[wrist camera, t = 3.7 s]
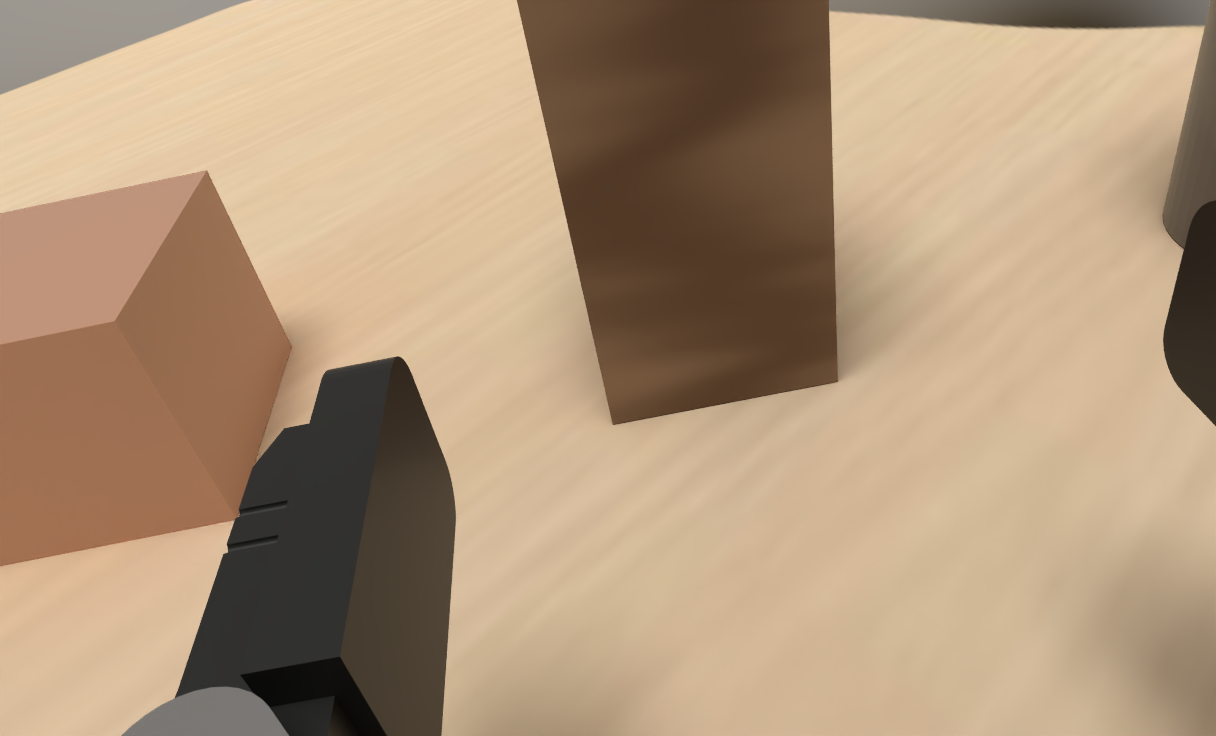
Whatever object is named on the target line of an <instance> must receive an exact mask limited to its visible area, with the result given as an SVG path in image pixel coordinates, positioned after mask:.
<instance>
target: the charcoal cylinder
mask: <svg viewBox="0 0 1216 736" xmlns="http://www.w3.org/2000/svg"><path fill="white" fill-rule="evenodd" d="M1215 200H1216V0H1211V2H1210V6H1209V11H1208V15H1207V19H1206V24H1205V28H1204V33H1203V37H1202V42H1201V46H1200V51H1199V55H1198V59H1197V64H1196V68H1195V73H1194V77H1193V82H1192V86H1191V91H1190V95H1189V99H1188V104H1187V108H1186V113H1185V117H1184V122H1183V126H1182V131H1181V135H1180V139H1179V144H1178V148H1177V153H1176V157H1175V162H1174V166H1173V171H1172V175H1171V179H1170V184H1169V188H1168V193H1167V197H1166V202H1165V206H1164V211H1163V222H1164V225H1165V227H1166V230H1167V231H1168V233H1169V234H1170V235H1171V237H1172V238H1173V239H1174V240H1175V241H1176V242H1177V243H1178V244H1179V245H1180V246H1182V247H1183V248H1184V247H1185V243H1186V239H1187V235H1188V231H1189V227H1190V224H1191V221H1192V219H1193V217H1194V215H1195V213H1196V212H1197V211H1198V209H1199V208H1200V207H1202V206H1203V205H1204V204H1206V203H1208V202H1210V201H1215Z"/></svg>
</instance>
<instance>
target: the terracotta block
mask: <svg viewBox="0 0 1216 736" xmlns="http://www.w3.org/2000/svg"><path fill="white" fill-rule="evenodd" d="M291 347H292V346H291V344H290V342H289V340H288V338H287V336H286V334H285V332H284V330H283V328H282V326H281V323H280V321H279V319H278V317H277V315H276V313H275V311H274V309H273V307H272V305H271V303H270V301H269V299H268V296H267V294H266V292H265V290H264V288H263V286H262V284H261V282H260V280H259V278H258V276H257V274H256V272H255V269H254V267H253V265H252V263H251V261H250V259H249V257H248V255H247V253H246V251H245V249H244V247H243V245H242V242H241V240H240V238H239V236H238V234H237V232H236V230H235V228H234V226H233V224H232V222H231V220H230V217H229V215H228V213H227V211H226V209H225V207H224V205H223V203H222V201H221V199H220V197H219V195H218V193H217V190H216V188H215V186H214V184H213V182H212V180H211V178H210V176H209V174H208V172H207V171H202V172H197V173H192V174H187V175H183V176H178V177H173V178H168V179H163V180H159V181H154V182H149V183H144V184H139V185H135V186H130V187H125V188H120V189H115V190H110V191H106V192H101V193H96V194H91V195H86V196H82V197H77V198H72V199H67V200H62V201H58V202H53V203H48V204H43V205H38V206H34V207H29V208H24V209H19V210H14V211H9V212H5V213H0V566H4V565H9V564H14V563H19V562H24V561H29V560H34V559H39V558H44V557H49V556H55V555H60V554H65V553H70V552H75V551H80V550H85V549H90V548H95V547H100V546H105V545H110V544H115V543H120V542H126V541H131V540H136V539H141V538H146V537H151V536H156V535H161V534H166V533H171V532H176V531H181V530H186V529H192V528H197V527H202V526H207V525H212V524H217V523H222V522H227V521H232V520H235V518H238V515H239V510H238V509H239V506H240V503H241V500H242V497H243V494H244V491H245V488H246V485H247V482H248V479H249V476H250V473H251V470H252V468H253V466H254V464H255V461H256V458H257V455H258V451H259V448H260V445H261V442H262V439H263V436H264V432H265V429H266V426H267V423H268V420H269V417H270V414H271V410H272V407H273V404H274V401H275V398H276V395H277V391H278V388H279V385H280V382H281V379H282V376H283V372H284V369H285V366H286V363H287V360H288V357H289V354H290V350H291Z"/></svg>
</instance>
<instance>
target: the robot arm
mask: <svg viewBox="0 0 1216 736" xmlns="http://www.w3.org/2000/svg"><path fill="white" fill-rule="evenodd" d="M1163 344H1164V353H1165V358H1166V362H1167V365H1168V368H1169V370H1170V373H1171V375H1172V377H1173V379H1174V381H1175V382H1176V384H1177V385H1178V387H1179V388H1180V389H1181V390H1182V391H1183V392H1184V393H1185V395H1186V396H1187V397H1188V398H1189V399H1190V400H1191V401H1192V402H1193V403H1194V404H1195V405H1196V406H1197V407H1198V408H1199V409H1200V410H1201V411H1202V412H1203V413H1204V414H1205V415H1206V416H1207V417H1208V418H1209V420H1210V421H1211V422H1212V423H1213V424H1214V425H1215V426H1216V200H1215V201H1210V202H1208V203H1206V204H1204V205H1203V206H1202V207H1200V208H1199V209H1198V211H1197V212H1196V213H1195V215H1194V217H1193V219H1192V221H1191V224H1190V227H1189V231H1188V235H1187V239H1186V243H1185V247H1184V251H1183V255H1182V259H1181V264H1180V268H1179V272H1178V276H1177V280H1176V284H1175V288H1174V292H1173V296H1172V300H1171V304H1170V308H1169V312H1168V316H1167V320H1166V324H1165V329H1164V338H1163ZM238 510H239V513H240V517H238V518H235V521H234V524H233V527H232V530H231V533H230V536H229V539H228V542H227V546H228V553H225V554H223V557H222V560H221V563H220V566H219V569H218V572H217V575H216V578H215V581H214V584H213V587H212V590H211V593H210V596H209V599H208V602H207V605H206V608H205V611H204V614H203V617H202V620H201V623H200V626H199V629H198V632H197V635H196V638H195V641H194V644H193V647H192V650H191V653H190V656H189V659H188V662H187V665H186V668H185V671H184V674H183V677H182V680H181V683H180V686H179V689H178V691H177V694H176V696H175V699H173V700H171V701H169V702H167V703H165V704H163V705H161V706H159V707H158V708H156V709H154V710H153V711H151V712H150V713H148V714H147V715H145V716H144V717H143V718H141V719H140V720H139V721H138V722H136V723H135V724H134V725H132V726H131V727H130V728H129V729H128V730H127V731H126V732H125V733H124V734H123V735H122V736H441V732H442V717H443V702H444V687H445V673H446V658H447V643H448V628H449V614H450V599H451V584H452V569H453V554H454V540H455V525H456V511H455V500H454V493H453V487H452V482H451V478H450V474H449V470H448V467H447V464H446V461H445V458H444V456H443V453H442V451H441V448H440V446H439V443H438V440H437V438H436V435H435V433H434V430H433V428H432V425H431V422H430V420H429V417H428V415H427V412H426V410H425V407H424V405H423V402H422V399H421V397H420V394H419V392H418V389H417V387H416V384H415V381H414V379H413V376H412V374H411V372H410V369H409V367H408V366H407V364H406V362H405V361H404V360H403V359H402V358H401V357H393V358H387V359H382V360H377V361H372V362H367V363H362V364H356V365H351V366H346V367H341V368H336V369H331V370H328V371H326V372H325V374H324V375H323V377H322V380H321V384H320V387H319V391H318V395H317V398H316V402H315V405H314V409H313V413H312V416H311V420H310V423H309V424H305V425H300V426H294V427H289V428H284V429H283V431H282V432H281V433H280V434H279V436H278V437H277V438H276V439H275V441H274V442H273V443H272V444H271V445H270V447H269V448H268V449H267V450H266V452H265V453H264V454H263V455H262V457H261V458H260V459H259V460H258V461H257V463H256V464H255V465H254V466H253V468H252V470H251V473H250V476H249V479H248V482H247V485H246V488H245V491H244V494H243V497H242V500H241V503H240V506H239V509H238Z"/></svg>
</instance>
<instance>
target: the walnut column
mask: <svg viewBox="0 0 1216 736" xmlns="http://www.w3.org/2000/svg"><path fill="white" fill-rule="evenodd" d="M517 3H518V7H519V11H520V16H521V20H522V25H523V29H524V34H525V38H526V42H527V47H528V51H529V56H530V60H531V64H532V69H533V73H534V78H535V82H536V87H537V91H538V95H539V100H540V104H541V109H542V113H543V118H544V122H545V126H546V131H547V135H548V140H549V144H550V148H551V153H552V157H553V162H554V166H555V171H556V175H557V179H558V184H559V188H560V193H561V197H562V202H563V206H564V210H565V215H566V219H567V224H568V228H569V232H570V237H571V241H572V246H573V250H574V255H575V259H576V263H577V268H578V272H579V277H580V281H581V286H582V290H583V294H584V299H585V303H586V308H587V312H588V316H589V321H590V325H591V330H592V334H593V339H594V343H595V347H596V352H597V356H598V361H599V365H600V370H601V374H602V378H603V383H604V387H605V392H606V396H607V400H608V405H609V409H610V414H611V418H612V423H613V425H614V424H619V423H624V422H629V421H635V420H640V419H645V418H650V417H655V416H661V415H666V414H671V413H676V412H682V411H687V410H692V409H697V408H702V407H708V406H713V405H718V404H723V403H729V402H734V401H739V400H744V399H749V398H755V397H760V396H765V395H770V394H776V393H781V392H786V391H791V390H796V389H802V388H807V387H812V386H817V385H823V384H828V383H833V382H838V375H837V333H836V291H835V249H834V207H833V165H832V122H831V80H830V38H829V0H517Z"/></svg>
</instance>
